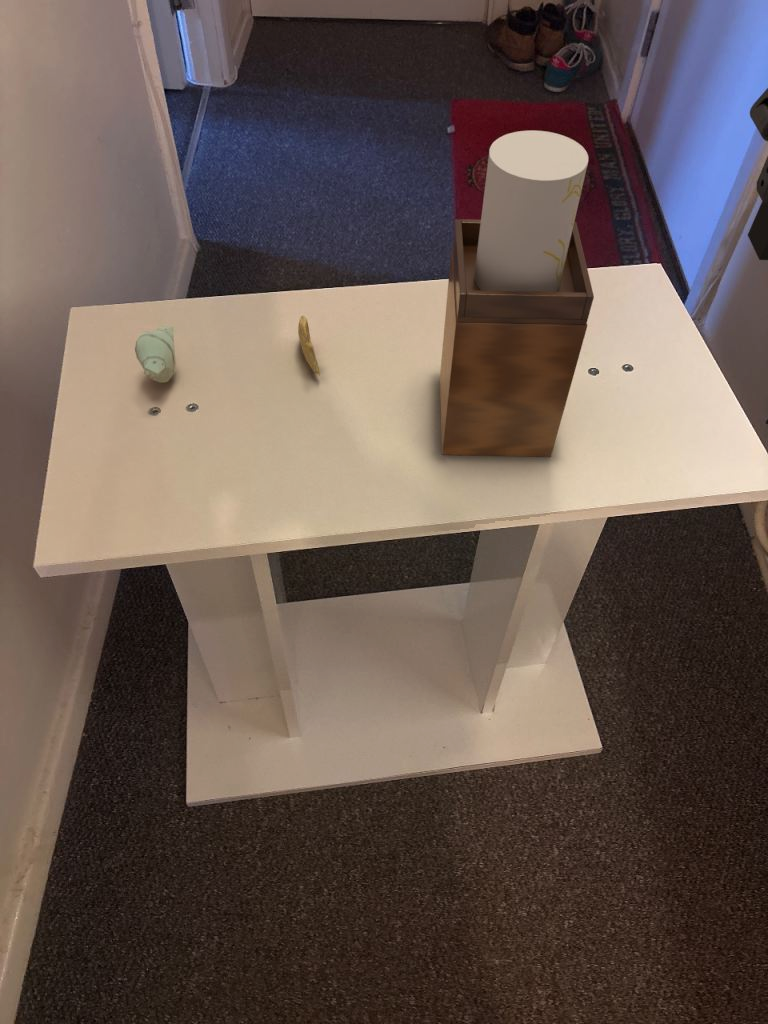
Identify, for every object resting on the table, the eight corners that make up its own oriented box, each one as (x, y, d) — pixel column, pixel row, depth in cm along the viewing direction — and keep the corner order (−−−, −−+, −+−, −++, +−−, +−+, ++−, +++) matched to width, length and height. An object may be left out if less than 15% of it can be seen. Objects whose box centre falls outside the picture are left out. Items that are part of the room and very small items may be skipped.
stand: (539, 381, 90) (570, 248, 76) (551, 456, 83) (587, 325, 69) (439, 379, 90) (451, 246, 76) (442, 454, 83) (455, 323, 69)
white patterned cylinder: (559, 309, 69) (588, 184, 59) (470, 300, 70) (485, 175, 60) (560, 257, 74) (588, 134, 64) (477, 249, 75) (492, 126, 65)
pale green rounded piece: (172, 404, 87) (159, 359, 82) (138, 402, 87) (122, 357, 82) (187, 357, 92) (175, 312, 87) (154, 356, 92) (140, 311, 87)
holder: (569, 249, 76) (576, 221, 73) (586, 325, 69) (594, 296, 66) (452, 247, 76) (455, 218, 73) (456, 322, 69) (459, 294, 66)
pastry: (295, 339, 94) (291, 306, 90) (307, 336, 95) (303, 304, 91) (311, 385, 89) (308, 353, 85) (323, 383, 90) (321, 350, 86)
